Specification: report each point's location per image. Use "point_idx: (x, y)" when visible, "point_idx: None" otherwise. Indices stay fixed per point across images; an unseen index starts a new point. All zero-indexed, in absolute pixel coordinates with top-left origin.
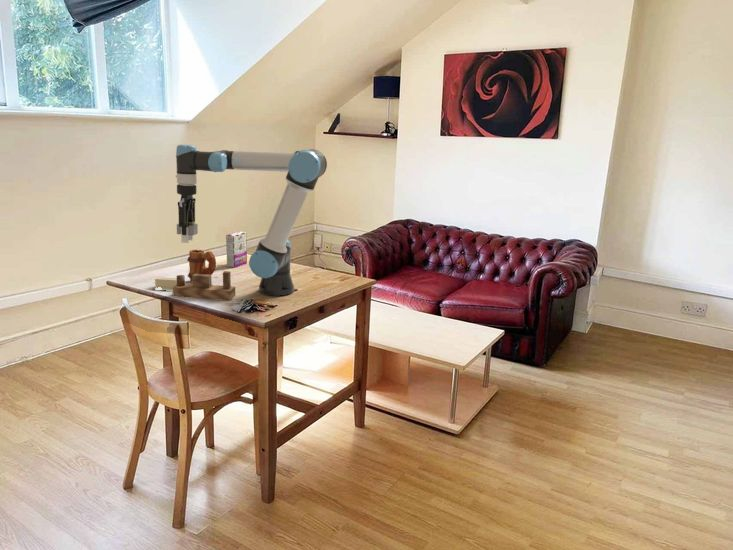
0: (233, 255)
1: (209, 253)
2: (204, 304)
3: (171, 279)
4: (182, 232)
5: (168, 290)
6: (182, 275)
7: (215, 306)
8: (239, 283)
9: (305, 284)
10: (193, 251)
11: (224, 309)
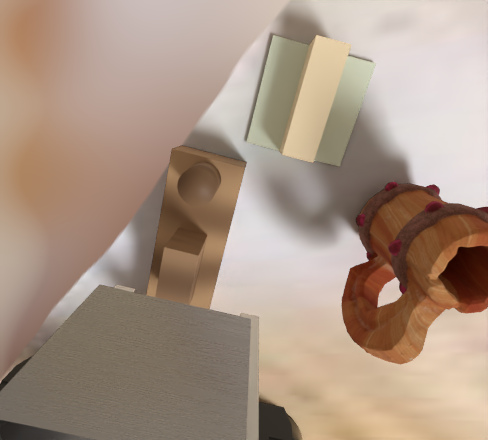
0: None
1: (380, 350)
2: (101, 260)
3: (301, 122)
4: (2, 387)
5: (253, 114)
6: (205, 195)
7: (85, 293)
8: (346, 351)
9: None
10: None
11: (61, 317)
